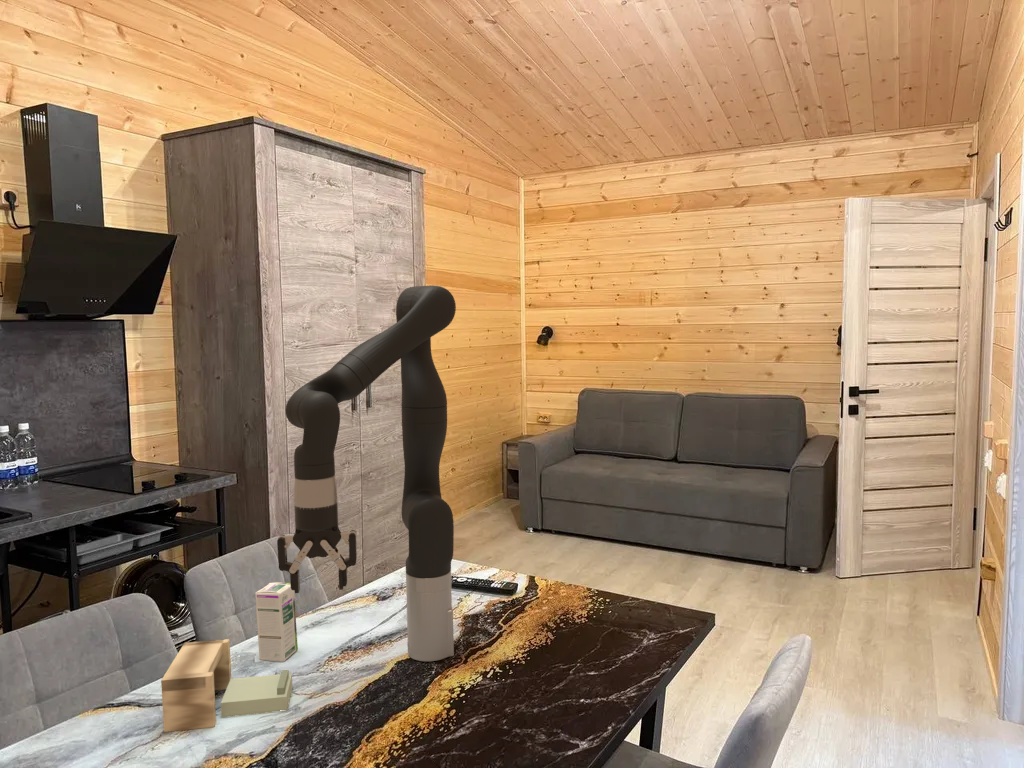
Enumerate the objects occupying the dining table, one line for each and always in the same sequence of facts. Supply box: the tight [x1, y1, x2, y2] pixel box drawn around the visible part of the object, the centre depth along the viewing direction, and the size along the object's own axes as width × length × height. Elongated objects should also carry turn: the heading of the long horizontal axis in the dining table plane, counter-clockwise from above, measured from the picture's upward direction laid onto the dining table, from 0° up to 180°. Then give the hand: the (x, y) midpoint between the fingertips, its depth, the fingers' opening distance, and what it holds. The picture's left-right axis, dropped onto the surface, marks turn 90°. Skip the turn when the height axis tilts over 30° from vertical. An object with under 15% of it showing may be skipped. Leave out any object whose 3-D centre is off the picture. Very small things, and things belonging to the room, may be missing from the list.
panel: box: [220, 669, 293, 718], centre depth 135 cm, size 11×9×4 cm
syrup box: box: [254, 581, 299, 663], centre depth 153 cm, size 6×6×14 cm
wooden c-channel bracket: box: [160, 638, 232, 733], centre depth 133 cm, size 8×15×9 cm, turn 10°
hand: (319, 590), depth 135 cm, fingers open, 7 cm apart
